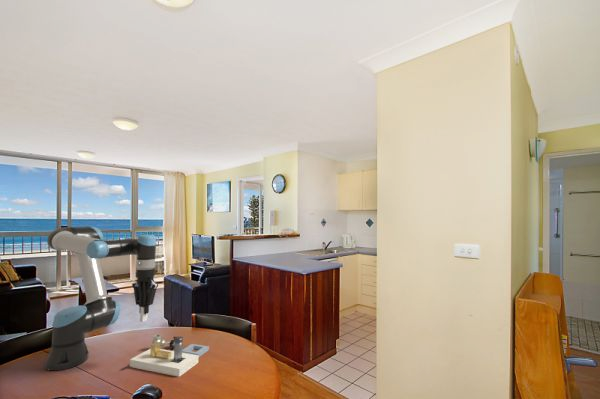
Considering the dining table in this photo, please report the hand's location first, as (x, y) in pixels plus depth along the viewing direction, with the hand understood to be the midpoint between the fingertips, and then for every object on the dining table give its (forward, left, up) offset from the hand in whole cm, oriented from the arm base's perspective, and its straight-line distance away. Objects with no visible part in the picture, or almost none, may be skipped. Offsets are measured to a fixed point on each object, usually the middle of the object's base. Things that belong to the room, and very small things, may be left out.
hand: (143, 320), depth 128 cm
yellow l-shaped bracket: (+11, 0, -14) cm, 18 cm away
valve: (0, +13, -19) cm, 23 cm away
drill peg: (+20, 0, -17) cm, 26 cm away
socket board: (+13, 0, -18) cm, 22 cm away
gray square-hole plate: (+18, +14, -18) cm, 29 cm away
